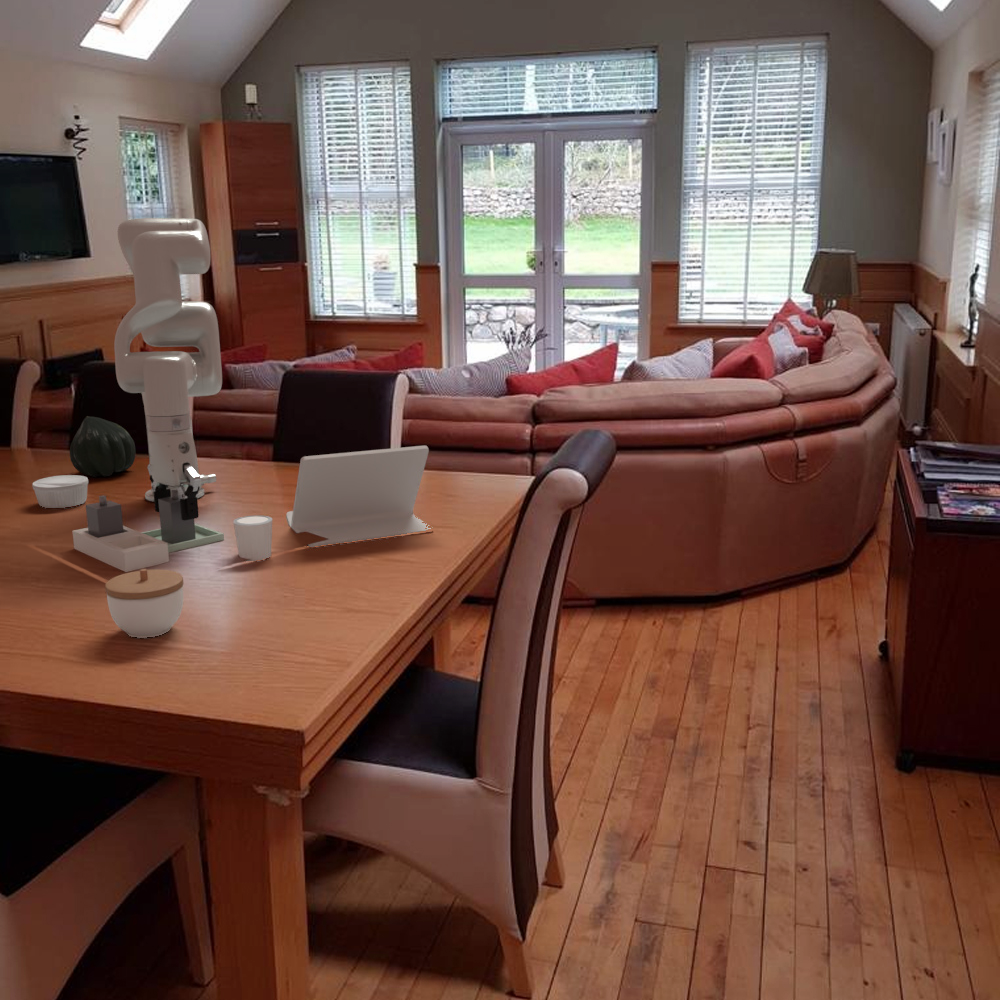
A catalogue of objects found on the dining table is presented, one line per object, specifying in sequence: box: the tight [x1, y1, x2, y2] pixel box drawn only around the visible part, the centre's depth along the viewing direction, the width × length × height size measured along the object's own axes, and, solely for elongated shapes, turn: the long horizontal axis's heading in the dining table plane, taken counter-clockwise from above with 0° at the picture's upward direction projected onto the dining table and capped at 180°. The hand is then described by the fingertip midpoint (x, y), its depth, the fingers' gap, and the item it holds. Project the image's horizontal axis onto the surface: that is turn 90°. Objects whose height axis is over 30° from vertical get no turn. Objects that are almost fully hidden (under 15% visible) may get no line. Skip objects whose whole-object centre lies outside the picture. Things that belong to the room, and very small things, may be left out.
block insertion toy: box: [72, 494, 170, 573], centre depth 186 cm, size 8×20×11 cm, turn 46°
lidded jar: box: [104, 568, 184, 639], centre depth 151 cm, size 11×11×9 cm
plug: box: [158, 490, 196, 544], centre depth 195 cm, size 4×4×10 cm
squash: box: [69, 415, 136, 478], centre depth 254 cm, size 14×15×15 cm
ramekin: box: [32, 474, 89, 509], centre depth 226 cm, size 11×11×5 cm
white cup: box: [232, 514, 273, 562], centre depth 187 cm, size 7×7×7 cm
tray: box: [141, 523, 225, 554], centre depth 196 cm, size 12×12×2 cm
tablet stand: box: [285, 445, 431, 547], centre depth 204 cm, size 18×25×17 cm
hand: (176, 514), depth 194 cm, fingers open, 9 cm apart
